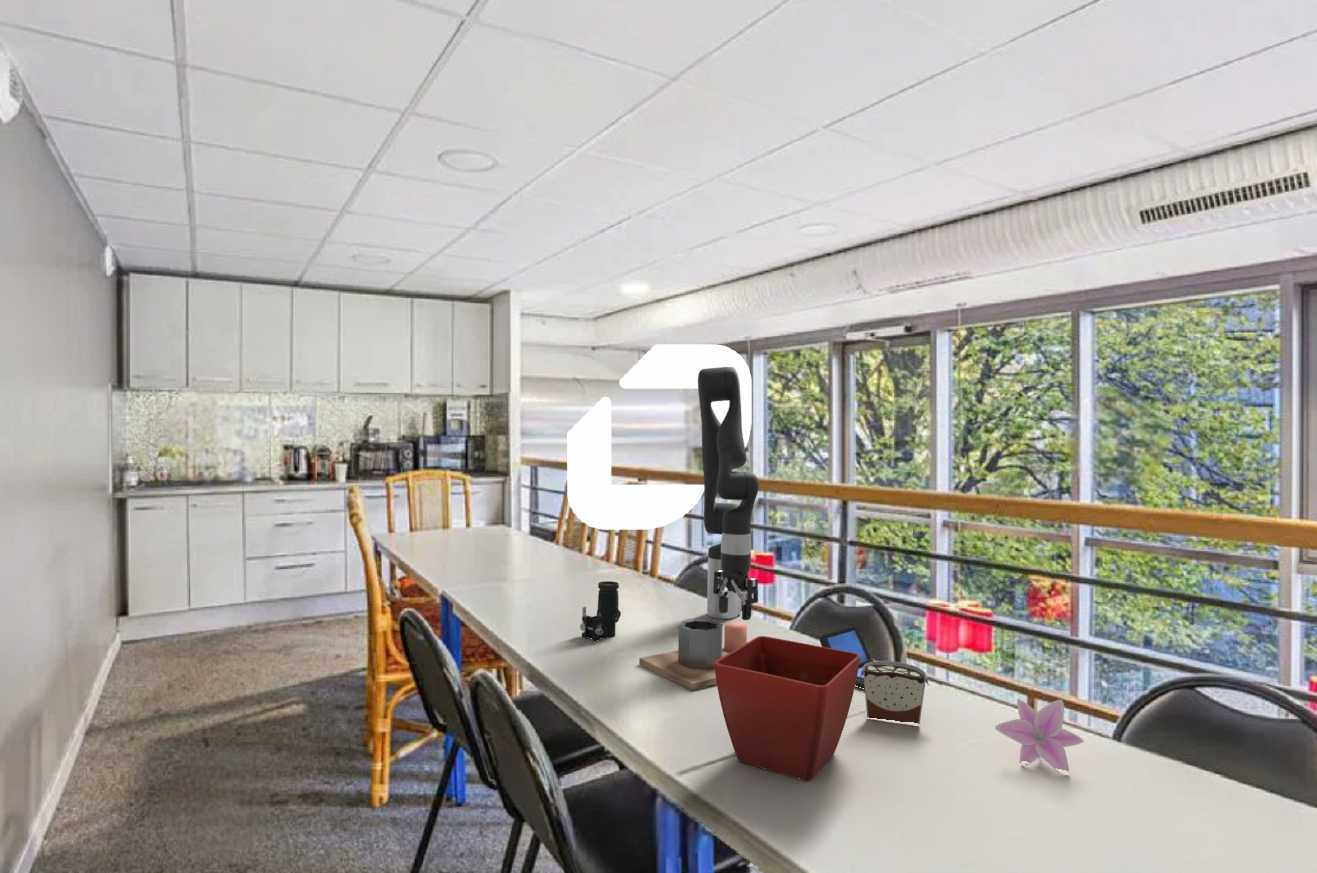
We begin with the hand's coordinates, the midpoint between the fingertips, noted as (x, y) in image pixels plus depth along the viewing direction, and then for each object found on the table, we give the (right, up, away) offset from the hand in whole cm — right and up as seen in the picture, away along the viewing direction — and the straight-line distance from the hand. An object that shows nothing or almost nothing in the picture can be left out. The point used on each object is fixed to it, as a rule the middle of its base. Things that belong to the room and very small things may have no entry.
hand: (734, 616), depth 180 cm
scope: (-33, -8, +10) cm, 36 cm away
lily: (+45, -10, -59) cm, 75 cm away
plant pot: (+2, -9, -59) cm, 60 cm away
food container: (+26, -9, -41) cm, 50 cm away
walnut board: (-10, -8, -15) cm, 20 cm away
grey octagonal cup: (-10, -7, -15) cm, 19 cm away
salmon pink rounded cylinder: (0, -8, 0) cm, 8 cm away
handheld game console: (+27, -10, -18) cm, 33 cm away
